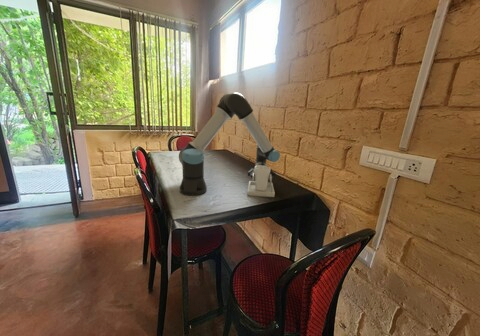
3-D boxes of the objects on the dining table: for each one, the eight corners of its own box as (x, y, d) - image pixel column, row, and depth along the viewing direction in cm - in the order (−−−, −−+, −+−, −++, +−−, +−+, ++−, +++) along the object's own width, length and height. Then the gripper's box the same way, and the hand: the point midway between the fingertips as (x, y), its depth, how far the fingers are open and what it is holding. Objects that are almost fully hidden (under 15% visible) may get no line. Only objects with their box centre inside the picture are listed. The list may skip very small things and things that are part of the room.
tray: (247, 195, 114) (247, 191, 113) (248, 184, 131) (249, 181, 131) (274, 197, 113) (274, 193, 112) (272, 186, 130) (272, 182, 130)
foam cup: (268, 192, 115) (270, 170, 112) (252, 190, 117) (253, 168, 114) (269, 186, 124) (271, 166, 121) (254, 184, 126) (255, 164, 123)
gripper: (277, 174, 136) (281, 186, 115) (244, 172, 138) (242, 183, 116) (278, 164, 134) (282, 173, 113) (245, 162, 136) (243, 171, 114)
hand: (262, 178), depth 114 cm, fingers closed on foam cup, 9 cm apart
